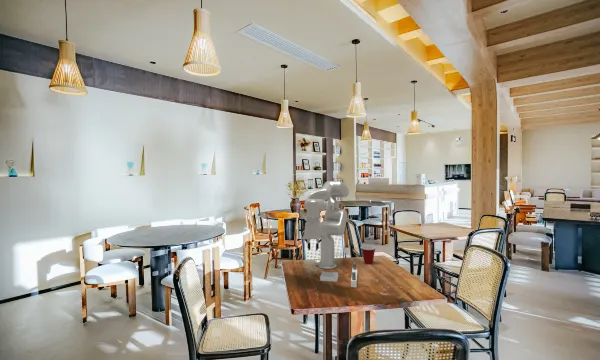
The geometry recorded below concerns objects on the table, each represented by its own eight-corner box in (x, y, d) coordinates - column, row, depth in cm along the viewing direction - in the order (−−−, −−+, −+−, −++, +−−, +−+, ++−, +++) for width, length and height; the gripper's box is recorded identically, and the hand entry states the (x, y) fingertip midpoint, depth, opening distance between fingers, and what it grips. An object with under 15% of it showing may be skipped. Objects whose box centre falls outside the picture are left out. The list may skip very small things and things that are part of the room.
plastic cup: (358, 264, 228) (358, 247, 228) (363, 260, 237) (363, 244, 237) (373, 266, 223) (373, 248, 223) (377, 262, 232) (377, 245, 232)
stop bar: (351, 287, 180) (351, 273, 180) (352, 273, 206) (352, 261, 205) (356, 287, 179) (356, 274, 179) (357, 273, 205) (357, 262, 205)
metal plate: (320, 281, 191) (320, 276, 191) (322, 276, 201) (322, 271, 201) (336, 282, 189) (336, 277, 189) (338, 277, 199) (338, 272, 199)
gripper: (298, 220, 195) (298, 250, 195) (325, 221, 192) (326, 251, 192) (300, 219, 202) (300, 248, 202) (327, 219, 199) (327, 249, 199)
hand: (313, 249), depth 197 cm, fingers open, 4 cm apart
